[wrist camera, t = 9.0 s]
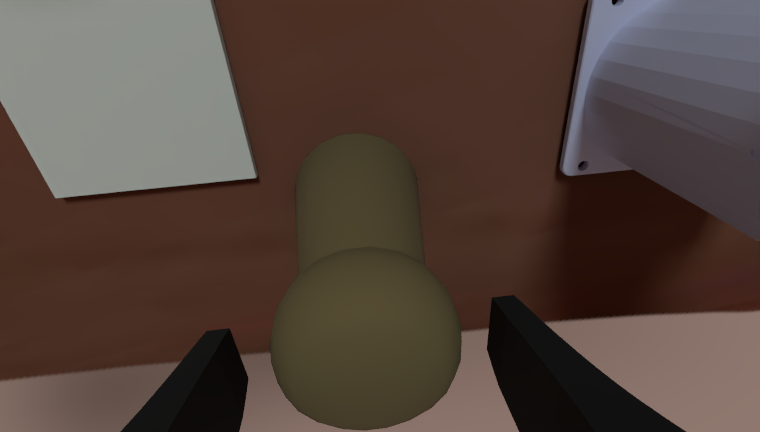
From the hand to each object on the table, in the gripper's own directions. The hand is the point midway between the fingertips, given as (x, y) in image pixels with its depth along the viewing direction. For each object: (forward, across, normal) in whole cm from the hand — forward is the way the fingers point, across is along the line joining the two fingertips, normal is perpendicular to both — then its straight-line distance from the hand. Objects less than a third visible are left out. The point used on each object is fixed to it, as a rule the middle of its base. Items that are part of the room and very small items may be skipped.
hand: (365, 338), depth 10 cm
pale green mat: (+9, +9, -6) cm, 14 cm away
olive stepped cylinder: (+10, 0, 0) cm, 10 cm away
